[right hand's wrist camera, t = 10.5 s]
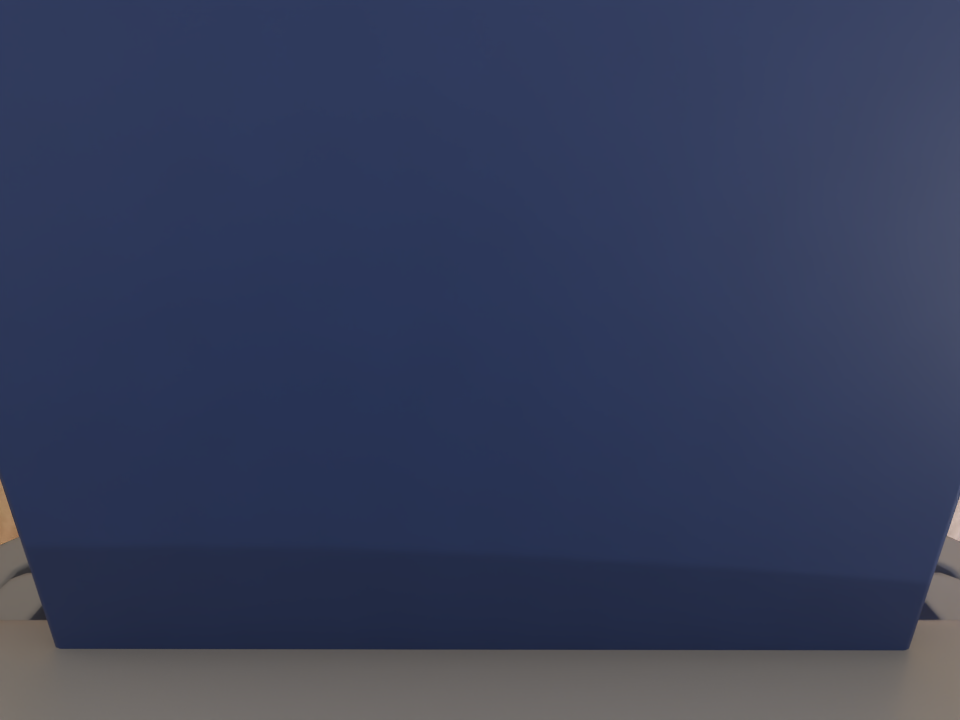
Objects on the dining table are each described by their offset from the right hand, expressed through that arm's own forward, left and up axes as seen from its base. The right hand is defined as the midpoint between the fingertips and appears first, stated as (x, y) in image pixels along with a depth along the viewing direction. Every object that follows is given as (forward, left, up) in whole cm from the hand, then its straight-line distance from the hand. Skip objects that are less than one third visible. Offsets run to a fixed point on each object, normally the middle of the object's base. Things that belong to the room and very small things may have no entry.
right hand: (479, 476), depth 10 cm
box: (+8, 0, -7) cm, 10 cm away
